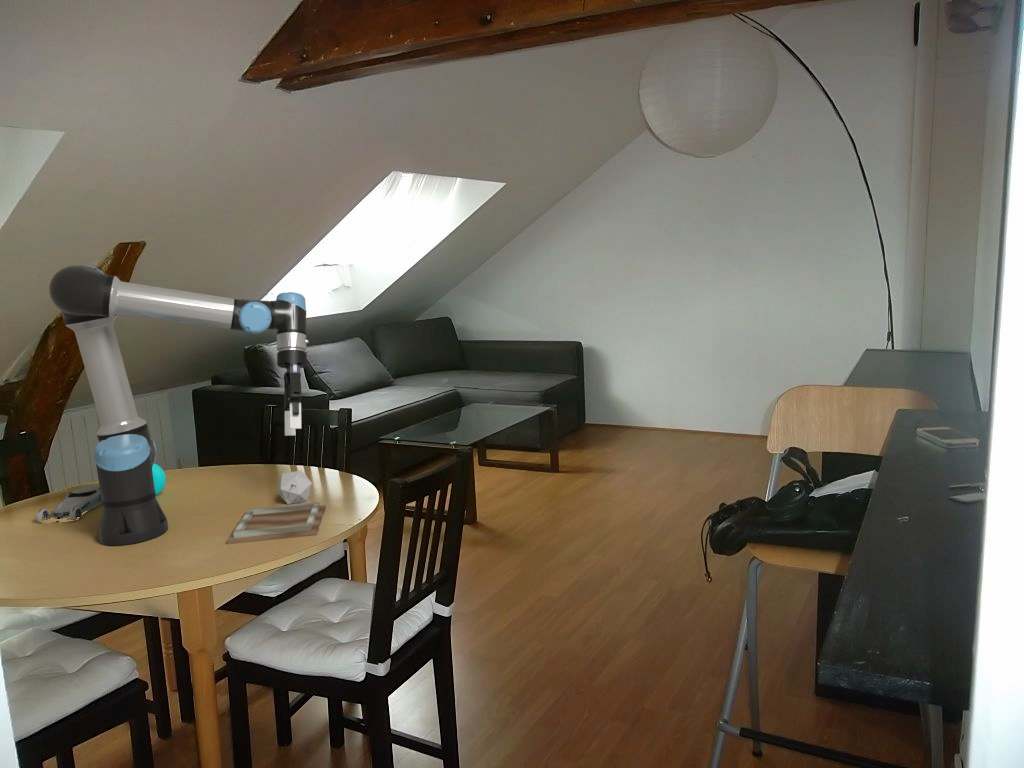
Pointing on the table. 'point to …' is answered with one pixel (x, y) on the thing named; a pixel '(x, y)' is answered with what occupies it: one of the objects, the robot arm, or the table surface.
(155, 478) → the turquoise ball
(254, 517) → the dice tray
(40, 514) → the car model
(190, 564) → the table surface
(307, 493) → the die
